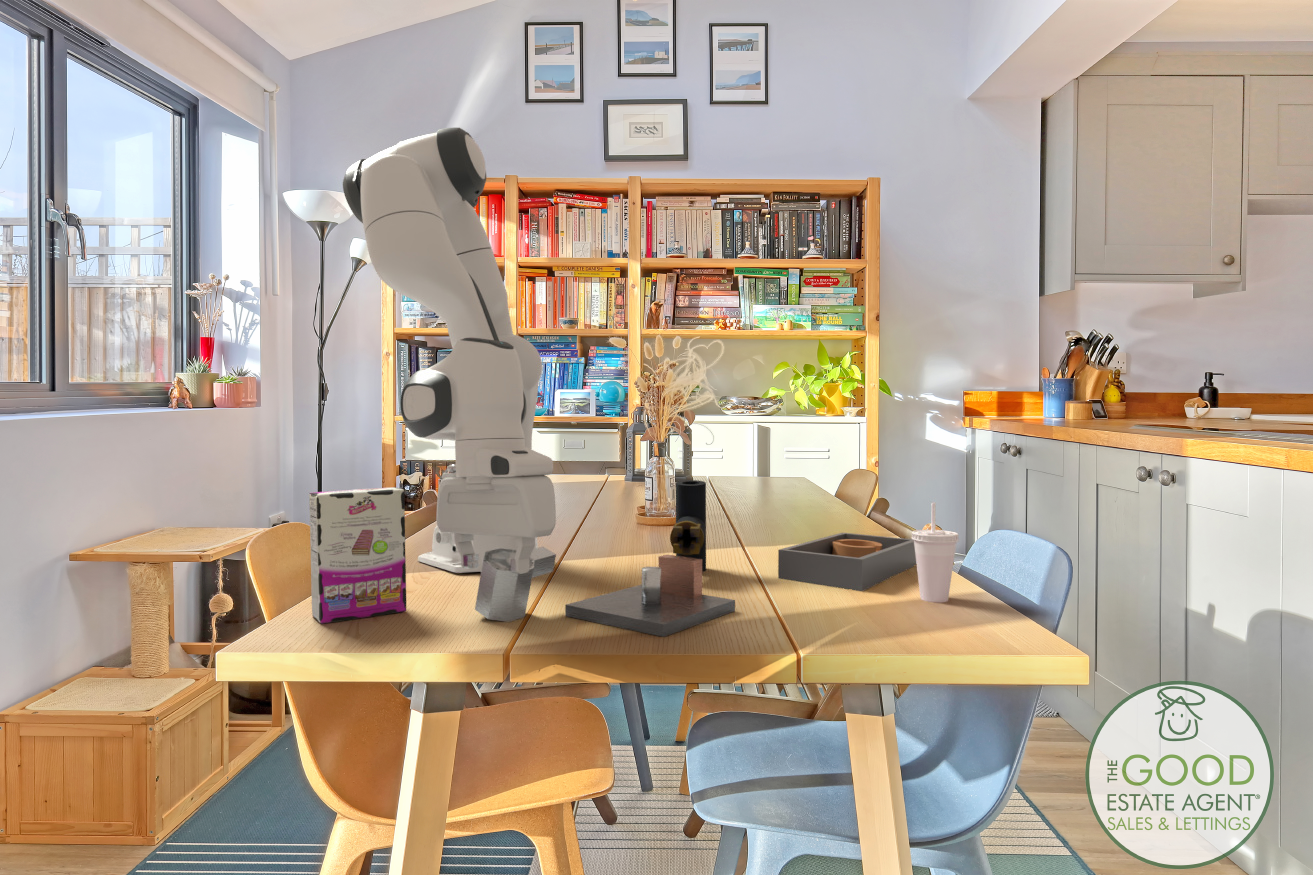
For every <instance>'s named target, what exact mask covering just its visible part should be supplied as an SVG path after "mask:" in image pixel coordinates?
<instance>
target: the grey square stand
mask: <svg viewBox="0 0 1313 875" xmlns="http://www.w3.org/2000/svg"><path fill="white" fill-rule="evenodd" d="M564 608H565V612H564V613H565V617H566V618H567V617H568V618H573V619H578V620H582V621H587V622H591V623H596V624H601V625H605V626H610V627H615V628H620V629H623V630H624V629H625V630H630V631H633V632H638V633H644V634H648V635H654V636H658V637H662V638H665V637H667V636H669V635H673V634H675V633H678V632H681V631H684V630H686V629H689V628H692V627H695V626H697V625H700V624H703V623H706V622H709V621H711V620H714V619H717V618H719V617H722V616H725V615H728V614H732V613H733V612H735V611H736V599H733V598H732V599H731V598H725V597H719V596H713V595H708V594H703V572H702V559H697V558H689V557H682V556H676V555H675V554H674V555H673V554H664V555H659V556H658V566H644V567H641V584H639V585H638V584H637V585H635V586H632V587H628V588H623V589H619V590H616V591H612V592H608V593H604V594H601V595H597V596H594V597H589V598H585V599H581V600H578V601H574V602H570V603H566V604H565V607H564Z"/></svg>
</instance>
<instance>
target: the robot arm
mask: <svg viewBox="0 0 1313 875" xmlns="http://www.w3.org/2000/svg"><path fill="white" fill-rule="evenodd" d="M486 182H487V170H486V161H485V157H484V154H483V152H482V150H481V148H480V147H479V145H478V144H477V142H476V141H475V140H474V138H473V136H472V135H471V134H470V133H469V132H468V131H466V130H464V129H463V128H462V127H446V128H440V129H438V130H437V131H436V132H432V133H427V134H424V135H420V136H415V137H413V138H409V139H406V140H403V141H399V142H398V143H397V144H396V145H393V146H392V147H388V148H387V149H383V150H382V151H380V152H378V153H376V154H374V155H372V156H371V157H368V158H367V159H366V158H362V159H360V160H358V161H357V162H355V163H353V164H352V165H351V166H349V167H348V168H347V169H346V172H345V174H344V177H343V180H342V189H343V194H344V197H345V200H346V202H347V204H348V206H349V208H350V210H351V212H352V214H353V215H354V217H355V218H356V219H357V220H358V221H359V222H361V224H362V226H363V230H364V236H365V241H366V246H367V251H368V256H369V258H370V262H371V264H372V266H373V269H374V270H375V272H376V274H377V275H378V277H379V278H380V280H382V282H384V284H385V285H387V286H388V287H389V288H390V289H392V290H393V291H395V292H396V293H398V294H400V295H402V296H405V297H406V298H408V299H411V300H413V301H414V302H416V303H418V304H419V305H422V306H423V307H425V308H427V309H428V310H430V311H432V312H433V313H434V314H436V316H438V317H440V318H441V319H442V320H443V321H444V322H445V323H446V327H447V328H446V329H447V332H448V336H449V340H450V344H451V345H450V346H451V347H452V351H451V352H449V354H448V355H447V356H446V357H445V358H443V359H441V360H440V361H439V362H436V363H435V364H434V365H432V366H430V367H428V368H425V369H419V370H417V371H415V372H414V373H413V374H412V375H411V376H410V377H409V378H408V379H407V381H406V382H405V384H404V385H403V388H402V391H401V395H400V413H401V418H402V419H403V422H404V424H405V426H406V428H407V429H408V430H409V432H411V433H412V434H413V435H414V436H415V437H418V438H423V439H426V440H433V441H434V440H435V441H441V440H442V441H454V448H455V450H454V452H455V453H454V456H455V463H451V464H449V465H448V466H447V467H446V469H445V470H444V471H443V473H442V475H441V481H440V483H439V485H438V490H437V499H436V500H437V501H436V526H435V527H434V529H433V534H432V546H431V548H432V549H431V550H432V551H428V552H425V553H422V554H420V555H418V557H417V562H420V563H423V564H426V565H430V566H432V567H437V568H439V569H442V570H446V571H449V572H452V573H457V574H459V573H461V574H463V573H478V572H480V573H481V570H482V564H483V560H484V555H485V552H486V551H490V550H494V549H498V548H506V549H513V550H517V552H516V555H515V559H510V564H511V572H512V573H517V574H522V573H527V572H528V571H529V558H530V556H531V553H532V551H533V549H535V548H539V545H538V538H542V537H548V536H551V534H552V533H553V531H554V529H555V527H556V524H557V522H556V521H557V520H556V519H557V514H556V513H557V510H556V496H555V486H554V483H553V481H552V479H551V478H550V477H549V475H552V473H553V472H554V461H553V459H552V458H551V457H549V456H547V455H546V454H543V453H540V452H538V451H536V450H534V449H532V447H533V446H532V442H533V439H532V437H533V429H534V420H535V417H536V416H535V415H536V409H537V408H536V407H537V401H538V393H539V383H540V378H541V376H542V371H543V362H542V359H541V358H542V357H541V355H540V353H539V351H538V349H537V348H536V347H535V345H533V343H531V342H530V341H529V340H527V339H526V338H524V337H522V336H520V335H517V334H514V332H513V331H514V330H513V327H512V323H511V316H510V311H509V302H508V300H509V299H508V292H507V289H506V286H505V283H504V281H503V277H502V275H501V272H500V269H499V265H498V264H497V260H496V257H495V254H494V251H493V249H492V246H491V243H490V241H489V237H488V235H487V233H486V231H485V230H486V229H485V228H484V226H483V224H482V222H481V220H480V218H479V215H478V213H477V212H476V210H475V208H476V206H477V205H478V202H479V196H480V195H481V194H482V193H483V192H484V189H485V186H486Z"/></svg>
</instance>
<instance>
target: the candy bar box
mask: <svg viewBox="0 0 1313 875" xmlns="http://www.w3.org/2000/svg"><path fill="white" fill-rule="evenodd" d="M308 496H309V497H308V498H309V503H308V504H309V532H310V533H309V535H310V538H309V539H310V541H309V542H310V545H309V546H310V576H311V577H310V579H311V582H310V583H311V585H310V586H311V590H310V591H311V615H312V617H313V619H315V620H316V621H317V622H318V623H319V624H329V623H336V622H343V621H351V620H358V619H361V618H362V619H363V618H370V617H376V616H377V617H378V616H383V615H390V614H398V613H402V612H406V611H407V570H406V568H407V565H406V561H407V560H406V557H407V556H406V518H405V517H406V516H405V513H406V512H405V489H402V488H398V487H396V486H393V487H376V488H361V489H359V488H358V489H344V490H343V489H342V490H331V491H328V490H327V491H317V492H316V491H315V492H309V495H308Z"/></svg>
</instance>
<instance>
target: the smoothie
mask: <svg viewBox="0 0 1313 875" xmlns="http://www.w3.org/2000/svg"><path fill="white" fill-rule="evenodd" d="M930 505H931V513H930V515H931V520H930V523H931V524H930V526H931V527H930V529H917V530H913V531H912V532H911V539H913V540H914V546H915V555H916V564H917V565H916V571H917V581H918V589H919V596H920V600H922V601H924V602H928V603H945V602H948V601H949V596H950V590H951V582H952V577H953V576H952V575H953V568H954V563H955V562H954V560H955V554H956V548H957V543H958V542H960V539H959V533H958V532H955V531H949V530H942V529H936V505H937V504H936V502H931V504H930Z"/></svg>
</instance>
